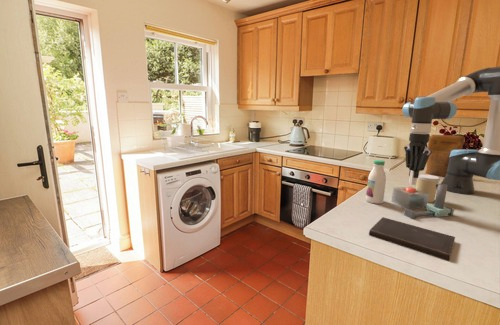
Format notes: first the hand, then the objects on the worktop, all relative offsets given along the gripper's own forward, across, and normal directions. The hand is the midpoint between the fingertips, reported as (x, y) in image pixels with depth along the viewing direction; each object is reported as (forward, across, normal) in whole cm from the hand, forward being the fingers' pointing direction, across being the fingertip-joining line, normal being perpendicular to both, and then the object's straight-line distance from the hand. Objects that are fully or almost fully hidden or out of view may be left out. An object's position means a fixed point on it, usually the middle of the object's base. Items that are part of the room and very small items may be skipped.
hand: (412, 184), depth 121 cm
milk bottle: (+10, -7, -14) cm, 18 cm away
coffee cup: (+11, -5, +13) cm, 18 cm away
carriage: (+10, +12, +3) cm, 16 cm away
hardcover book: (+10, +28, -26) cm, 39 cm away
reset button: (+8, 0, -1) cm, 8 cm away
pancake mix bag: (+12, -44, +65) cm, 80 cm away
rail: (+10, +12, -2) cm, 16 cm away
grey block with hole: (+10, 0, -1) cm, 10 cm away
